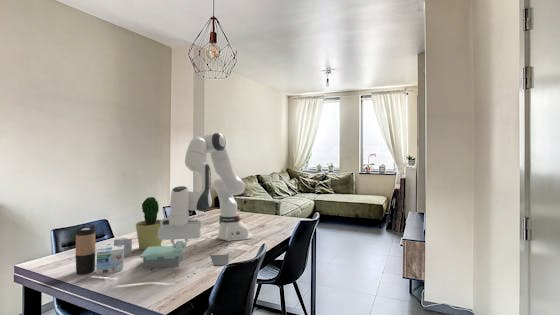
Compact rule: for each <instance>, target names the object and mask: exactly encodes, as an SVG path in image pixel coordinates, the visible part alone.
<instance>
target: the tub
mask: <svg viewBox="0 0 560 315" xmlns="http://www.w3.org/2000/svg"><path fill="white" fill-rule="evenodd" d="M182 260H183V253H182V254H181V256H175V259H164V257H157V259H151V260H146V258H142V268H143V269H147V268H149V269H150V268H163V267H164V268H165V267H167V268H168V267H179V266H180V265H181V262H182Z"/></svg>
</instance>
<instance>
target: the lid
mask: <svg viewBox="0 0 560 315" xmlns="http://www.w3.org/2000/svg"><path fill="white" fill-rule="evenodd" d="M183 243H184V240H176V241H175V244H176V248H173V245H166V246H165V245H163V246H162V245H161V246H157V247H148V248H147V249H146V250H143V252H142V253H141V255H140V256H139V258H141V259H143V258H146V260H151V259H157V257H164V259H175V256H181V254H182V255H183V252H184V250H185V248H182V247H183V246H182V244H183Z"/></svg>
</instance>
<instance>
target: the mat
mask: <svg viewBox="0 0 560 315" xmlns="http://www.w3.org/2000/svg"><path fill="white" fill-rule="evenodd" d="M229 256H230V255H229V254H228V253H227V254H226V253H225V254H210V259H211V262H212V265H213V266H214V267H219V266H220V267H222V266H227V265H226V264H228V263H229V261H230V260H229V259H230V257H229ZM228 265H229V264H228Z"/></svg>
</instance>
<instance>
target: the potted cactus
mask: <svg viewBox="0 0 560 315" xmlns="http://www.w3.org/2000/svg"><path fill="white" fill-rule="evenodd" d="M159 206H160V205H159V201H158V200H157V198H155V197H154V196H150V197H146V198H145V199H144V200H143V202H142V203H141V208H140V209H142V210H141V213H142V214H143V215H144V216H143V218H144V220H140V221H137V222H135V228H136V234H137V240H138V247H139V250H140V251H145V250H146V249H147V248H148V247H157V246H162V242H163V240H159V239H158V229H159V227H160V226H161V225H160V221H161V220H162V219H158V214H159V210H160V209H159Z"/></svg>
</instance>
